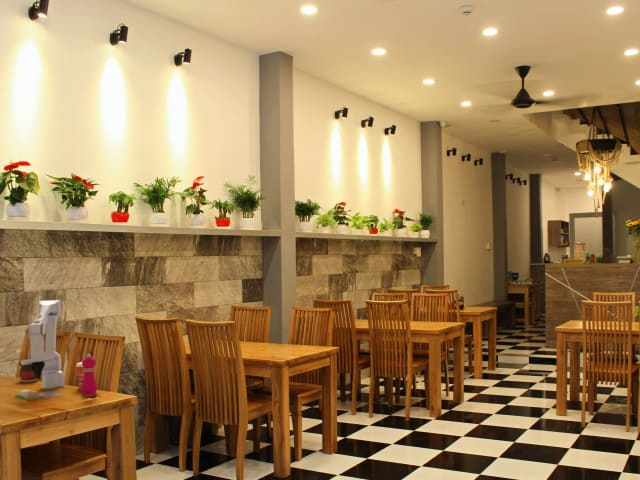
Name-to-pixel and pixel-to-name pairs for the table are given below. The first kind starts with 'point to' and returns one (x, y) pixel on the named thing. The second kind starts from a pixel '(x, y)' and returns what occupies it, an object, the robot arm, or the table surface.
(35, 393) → the terracotta block
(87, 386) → the pepper mill
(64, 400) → the table surface
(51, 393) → the plate
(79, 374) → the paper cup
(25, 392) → the tile cream
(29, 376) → the cake
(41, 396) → the box
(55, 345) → the robot arm
